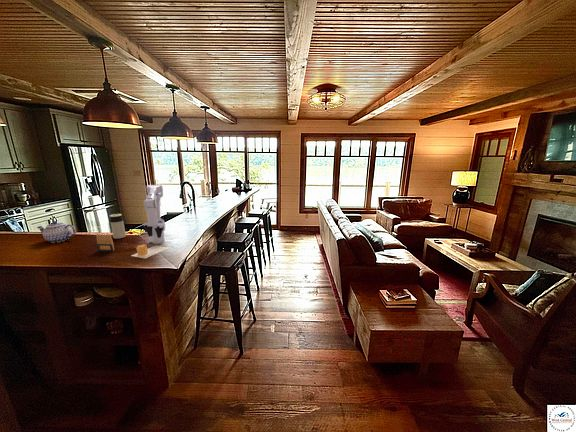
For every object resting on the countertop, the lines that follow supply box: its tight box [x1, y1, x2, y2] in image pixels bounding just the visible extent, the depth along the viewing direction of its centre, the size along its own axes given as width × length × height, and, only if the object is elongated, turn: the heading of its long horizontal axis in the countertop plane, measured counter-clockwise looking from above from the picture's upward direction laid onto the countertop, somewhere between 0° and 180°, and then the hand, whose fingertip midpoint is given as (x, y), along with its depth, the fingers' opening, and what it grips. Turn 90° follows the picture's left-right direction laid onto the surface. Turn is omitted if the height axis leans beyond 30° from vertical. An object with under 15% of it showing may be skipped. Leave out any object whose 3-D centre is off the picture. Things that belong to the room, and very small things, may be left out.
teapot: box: [36, 220, 77, 244], centre depth 168 cm, size 25×15×15 cm, turn 93°
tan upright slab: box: [96, 233, 116, 253], centre depth 151 cm, size 11×2×12 cm, turn 87°
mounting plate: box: [131, 245, 168, 259], centre depth 148 cm, size 12×18×5 cm, turn 162°
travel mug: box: [109, 213, 127, 240], centre depth 176 cm, size 8×8×18 cm
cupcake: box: [136, 244, 148, 255], centre depth 144 cm, size 6×6×5 cm
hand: (155, 236), depth 152 cm, fingers open, 7 cm apart
